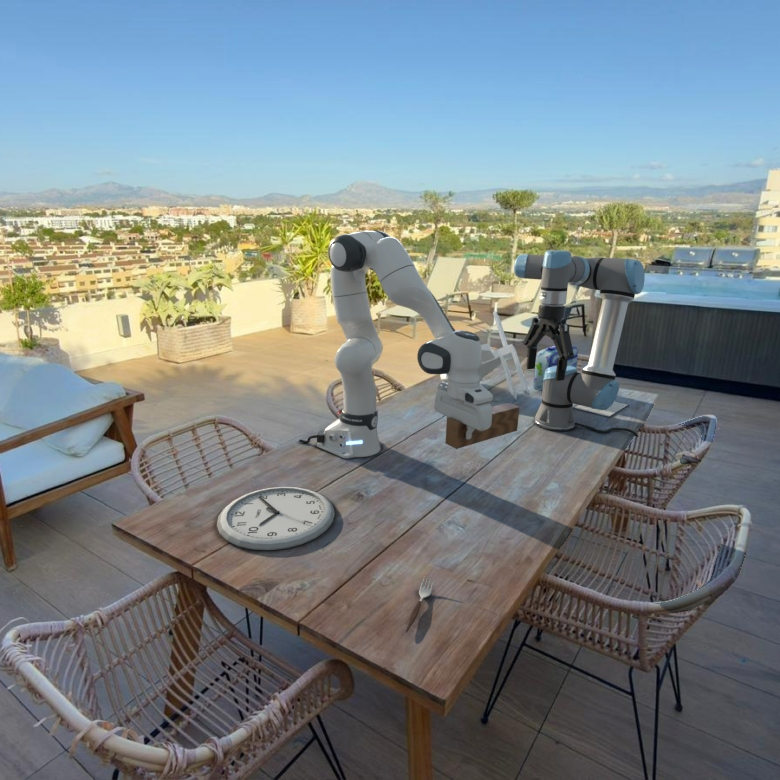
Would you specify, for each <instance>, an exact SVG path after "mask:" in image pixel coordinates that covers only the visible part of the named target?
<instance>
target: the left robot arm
mask: <svg viewBox="0 0 780 780" xmlns="http://www.w3.org/2000/svg"><path fill="white" fill-rule="evenodd" d="M327 255H328V259H329V262H330V264H331V266H330V288H331V289H330V290H331V296H332V302H333V307H334V312H335V318H336V322H337V324H338V325H339V327H341V330H342V331H343V334H344V336H345V340H346V341H345V342H344V343H342V344H341V345H340V346H339V348H338V349H337V351H336V353H335V355H334V365H335V367H336V369H337V371H338V372H339V375H340V379H341V384H342V396H343V399H342V402H343V404H342V405H343V407H342V408H341V409H340V410H338V411H337V412H336V413H337V414H336V415H337V416H338V415H339V417H338V418H337V419H336V420H334V421H333V422H331V423H330V424H329V425H328V426H326V427H325V429H324V430H318V431H317V434H314V435H310V436H308V437H307V439H306V440H304V439H299V441H298V442H299V443H301V444H302V443H303V444H309V443H310V442H311V439H316V447H317V448H319V449H322V450H324V451H326V452H329V453H331V454H333V455H335V456H338V457H340V458H343V459H352V458H364V457H365V458H366V457H371V456H374V455H376V454H378V453H380V452H381V450H382V446H381V444H380V440H379V434H378V424H379V423H378V422H379V414H378V413H379V411H378V408H377V402H378V401H377V394H378V393H377V390H378V389H377V385H376V384H375V380H374V376H373V367H374V365H375V364H376V363H377V362H378V361H379V360H380V359H381V357H382V354H383V351H384V345H383V342H382V340H381V338H380V337H379V334H378V332H377V329H376V326H375V323H374V320H373V316H372V312H371V306H370V301H369V294H368V288H367V284H366V274H367V272H369V270H371V271H373V272H374V273H375V275H376V277H377V280H378V282H379V284H380V286H381V288H382V290H383V292H384V293H385V295H386V296H387V298H388V299H389V300H390V302H391V303H393V304H394V305H397V306H399V307H403V308H406V309H410V310H412V311H414V312H415V313H417V314H418V315H420V317H421V318H422V319H423V321H424V322H425V324H426V326H427V328H428V330H430V333H431V334H432V336H433V338H434V339H431V340H429V341H426V342H425V343H423V344H421V346H419V348H418V350H417V356H416V360H417V363H418V365H419V367H420V369H421V370H422V371H423V372H424V373H426V374H428V375H440V374H447V375H448V384H447V383H445V382H443V381H442V382H439V384H437V391H436V393H435V398H434V406H433V407H434V411H435V412H437V413H439V414H441V415H443V416H445V417H446V419H447V418H450V417H451V418H454V419H456V420H458V421H461V422H462V423H463V424H466V425H467V429H468V430H467V432H464V438H465V439H471V437H472V432H473V431H474V430H475V429H477V430H479V431H483V430H487V429H489V428H490V426H491V423H492V407H493V406H492V404H491V402H492V401H493V398H494V396H493V394H492V393H491V392H490V391H489V390H488V389H486V388H485V386H483V385H482V384H481V381H480V377H479V369H480V367H481V345H482V342H481V338H480V337H479V336H478V335H477V334H476V333H474V332H471V331H468V330H462V329H461V330H456V329H455V328H454V326H453V325H452V323H451V321H450V320H449V318H448V316H447V315H446V313H445V312H444V310H443V308H442V306H441V305H440V303H439V302H438V300H437V299H436V297H435V295H434V294H433V292H432V291H431V290H430V289H429V288H428V286H427V285H426V283H425V282H424V280H423V279H422V276H421V274H420V273H419V271H418V269H417V268H416V266H415V263H414V262H413V260H412V258H411V255H410V254H409V253H408V252H407V250H406V248H405V246H403V244H402V243H401V242H400V241H399V239H398V238H395V237H392V236H390V235H389V234H388V233H387V232H384V231H382V230H375V229H374V230H359V231H356V232H352V233H351V232H350V233H348V234H346V233H344V234H343V233H342V234H341V235H338V236H335V237H334V238H333V239H332V240H331V241H330V243H329V245H328V254H327Z"/></svg>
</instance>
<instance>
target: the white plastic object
mask: <svg viewBox="0 0 780 780" xmlns="http://www.w3.org/2000/svg"><path fill="white" fill-rule="evenodd" d="M492 315H493V319H494V321H495V324H496V325H495V326H496V328H497V332H498V335H499V338H500V342H501V345H502V347H500V348H498V349H496V350H495V349H493V348H492V347H491V346H490V344H489V343H488V342H487V343H483V344H481V367H480V369H479V377H480V382H482V381H484V378H485V377H486V376H487V375H489V374H490V373H492V372H494V371H495V370H496V369H497V368H499V367H500V366H502V370H503V373H504V376H505V380H506V383H507V386H508V390H509V393H510V394H511V395H512V397H513V398H514V399H515V400H517V392H516V391H517V390H516V388H515V385H514V381H513V378H512V375H511V371H510V369H509V365H508V361H510V360H513V363H514V366H515V369H516V372H517V376H518V380H519V382H520V385H521V389H522V391H523V393H524V395H525V396H526V397H528V396H531V395H530V390H529V388H528V387H529V386H528V384H527V381H526V378H525V375H524V371H523V369H522V368H523V367H522V366H521V362H520V359H519V355H518V352H517V349H516V347H515V346H514V345H513V343H511V344H508V341H507V337H506V334H505V331H504V328H503V325H502V321H501V318H500V315H499V314H498V312H497V311H496V310H495V311H492ZM439 376H440V381H442V382H445V383H447V384H448V375H447V374H439Z"/></svg>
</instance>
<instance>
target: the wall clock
mask: <svg viewBox="0 0 780 780" xmlns="http://www.w3.org/2000/svg"><path fill="white" fill-rule="evenodd" d="M335 516H336V513H335V509H334V505H333V504H332V503H331V502H330V500H329V499H328V498H327V497H325V496H323V495H322V494H321V493H319V492H316V491H313V490H311V489H307V488H302V487H296V486H279V487H278V486H277V487H267V488H263V489H258V490H255V491H251V492H249V493H246V494H243V495H242V496H240V497H238V498H235V499H234V500H232V501H231V502H230V503H228V505H226V506H225V507H223V509H222V510H221V512H220V514H219V515H218V517H217V521H216V529H217V531H218V533H219V535H220V536H221V537H222V538H223V539H224V540H225V541H226V542H227V543H230V544H233V545H235V546H236V547H239V548H244V549H249V550H257V551H274V550H285V549H289V548H292V547H297V546H301V545H304V544H306V543H308V542H310V541H312V540H315V539H317V538H318V537H319V536H321V535H323V534H324V533H325V532H326V531H328V529H329V528H330V527H331V525H332V524H333V522H334V518H335Z"/></svg>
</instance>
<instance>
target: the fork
mask: <svg viewBox="0 0 780 780" xmlns="http://www.w3.org/2000/svg"><path fill="white" fill-rule="evenodd" d="M435 577H436V576H434V577H433V580H432V577H429V576H427V577H426V574H424V575H423V579H422V581H421V585H420V588H419V589H418V594H419V597H420V598H419V600H418V602H417V604H416V605H415V606H414V608H413V609H412V611H411V615H410V618H409V620H408V621H409V622H408V623H407V627H406V630H405V633H408V632H409V630H410V629H411V627H412V625H413V624H414V621H415V620H416V618H417V617H418V615H419V613H420V608H421V605H422V603H423V602H422V601H423V599H425V598H428V597H430V596H431V595H432V592H433V588H434V583H435ZM425 578H426V581H425ZM429 578H430V579H429ZM428 579H429V582H428ZM431 581H432V583H431ZM424 582H425V583H424Z"/></svg>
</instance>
